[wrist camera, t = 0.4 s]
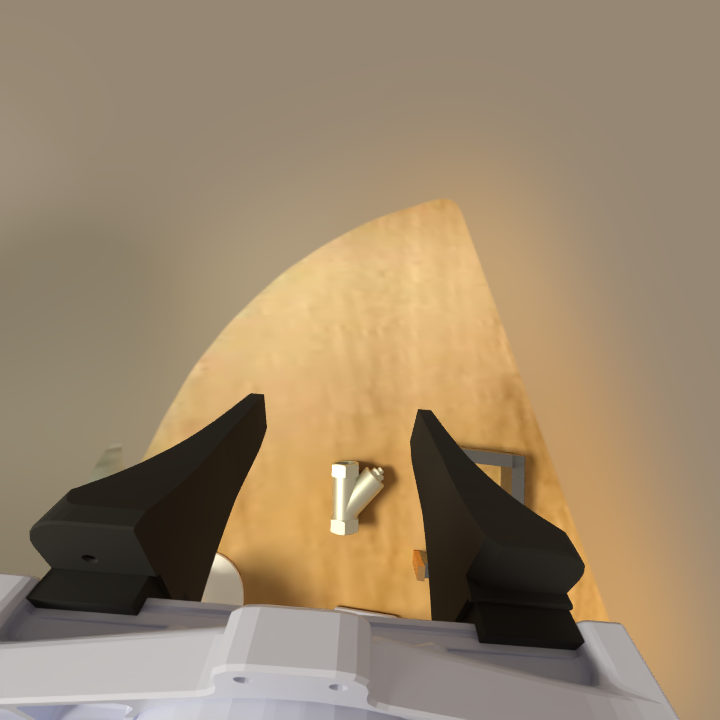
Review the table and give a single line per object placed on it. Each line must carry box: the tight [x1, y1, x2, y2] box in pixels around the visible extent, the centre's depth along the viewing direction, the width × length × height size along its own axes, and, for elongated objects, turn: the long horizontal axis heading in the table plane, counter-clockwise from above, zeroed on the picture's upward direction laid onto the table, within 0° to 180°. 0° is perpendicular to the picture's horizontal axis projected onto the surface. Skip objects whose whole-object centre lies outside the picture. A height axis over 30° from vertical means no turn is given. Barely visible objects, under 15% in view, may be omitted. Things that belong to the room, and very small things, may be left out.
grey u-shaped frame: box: [413, 447, 525, 581], centre depth 35 cm, size 15×12×4 cm
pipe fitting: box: [331, 461, 384, 535], centre depth 37 cm, size 8×4×7 cm
